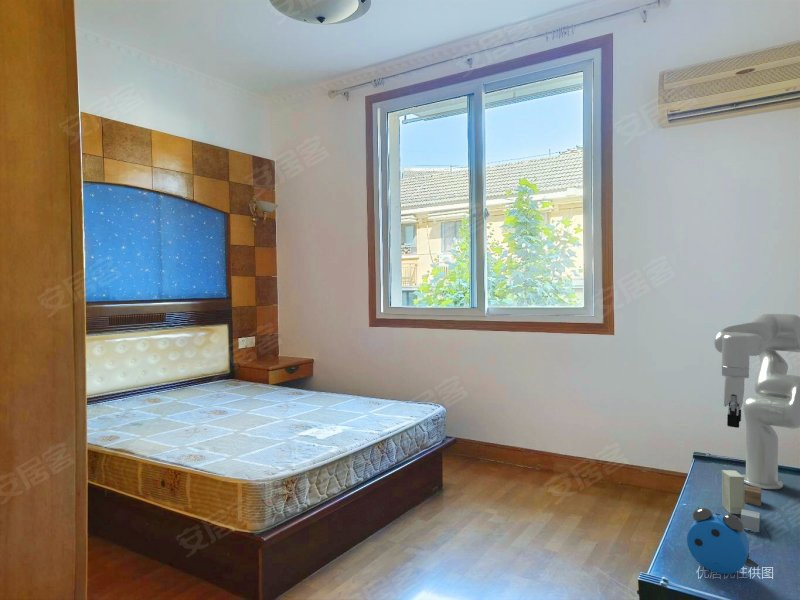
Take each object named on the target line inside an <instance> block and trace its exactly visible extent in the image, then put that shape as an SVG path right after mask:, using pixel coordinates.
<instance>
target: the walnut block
mask: <svg viewBox="0 0 800 600" xmlns="http://www.w3.org/2000/svg"><path fill="white" fill-rule="evenodd" d="M744 502H745V503H744V504H748V503H749V504H748V505H752V504H755V505H754V506H757V505H760V506H759V507H761V505H762V488H758V487H754V486H751V485H747V484H746V485H745V484H744Z"/></svg>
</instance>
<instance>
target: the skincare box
mask: <svg viewBox="0 0 800 600" xmlns="http://www.w3.org/2000/svg"><path fill="white" fill-rule="evenodd" d="M742 475H743V474H741V473H740V472H739V471H737V470H732V469H721V491H722V492H721V495H722V496H721V499H722V500H721V501H722V507H723V508H724V509H725V511H727V512H728V514H732V515H741V510H742V509H744V510H745V503H744V489H745V483H744V477H743V476H742Z"/></svg>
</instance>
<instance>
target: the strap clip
mask: <svg viewBox="0 0 800 600" xmlns="http://www.w3.org/2000/svg"><path fill="white" fill-rule="evenodd" d="M749 557H750V553H748V556H747V559H746V562H745V564H744V566H747V568H748V567H749V568H752V567H753V568H758V565H759V564H757V563H756V562H755V561H753V560H752V559H751V558H749Z"/></svg>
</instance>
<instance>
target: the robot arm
mask: <svg viewBox="0 0 800 600" xmlns="http://www.w3.org/2000/svg"><path fill="white" fill-rule="evenodd" d="M713 342H714V348H715V350H716V351H718V353H721V376H723V377H724V389H723V390H724V391H723V393H724V394H723V406H724V407H727V409H728V411H727V417H726V419H727V422H726V424H727V427H728V428H729V427H730V428H738V429H739V428H740V422H741V421H742V409H741V408H742V407H743V413H744V414H743V415H744V418H745V419H744V420H745V433H746V434H745V435H746V436H745V441H746V444H745V447H746V448H745V473H744V474H743V473H742V474H741V475H742V476H743V477H744V484H746V485H747V486H751V487H756V488H761V489H764V490H765V489H766V490H780V489H782V488H783V487H784V483H783V481H781V480H779V478H778V477H779V475H778V474H779V472H778V471H779V437H778V434H777V432H776V431H775V429H774V428H773V426H775V427H778V428H784V429H791V430H792V429H793V430H796V429H799V428H800V376H798V375H794V374H793V375H792V374H787V373H788V369H789V365H788V362H787V361H786V360H785V358H783V356H782V355H781V354H780V353H778V351H779V352H789V353H791V352H792V353H800V316H798V315H797V314H788V313H764V314H761V315H758V317H756V318H754V319H753V320H752V321H750V322H744V323H741V324H740V323H739V324H735V325H731V326H727V327H723V328H722V329H721V330H719V331H718V332H717V334H716V335H715V337H714V341H713ZM756 356H757V357H759V360H760V362H759V363H760V364H759V368H758V371H757V372H758V373H757V375H756V379H755V383H754V391H755V393H756V394H757V396H750V397H747V398H746V399H745V400H744V398H745V379H749V378H750V357H756Z"/></svg>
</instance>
